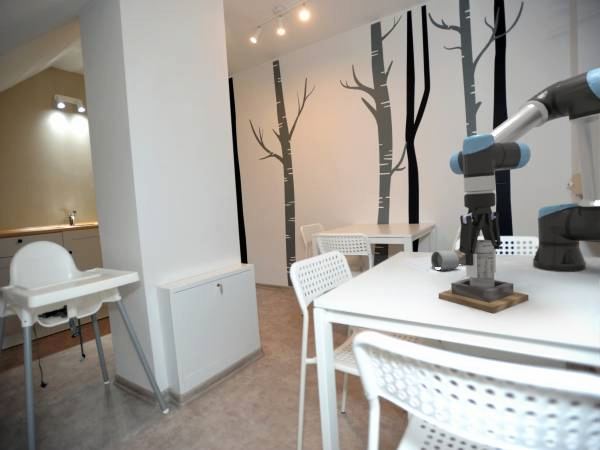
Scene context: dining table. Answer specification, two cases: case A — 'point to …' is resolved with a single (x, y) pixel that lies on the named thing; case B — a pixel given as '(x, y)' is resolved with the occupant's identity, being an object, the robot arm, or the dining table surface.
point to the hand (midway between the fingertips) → (481, 274)
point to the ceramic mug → (445, 259)
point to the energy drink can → (484, 265)
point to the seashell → (461, 257)
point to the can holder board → (484, 296)
